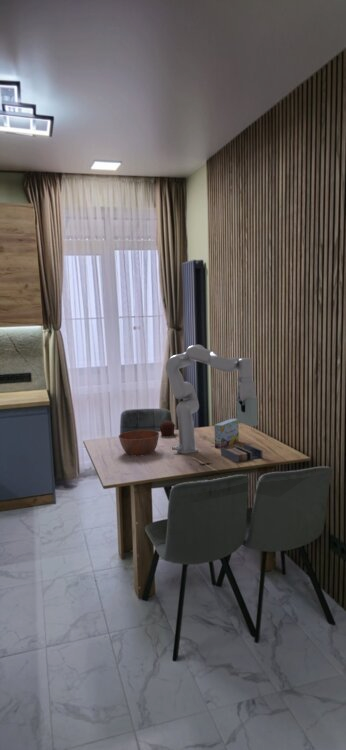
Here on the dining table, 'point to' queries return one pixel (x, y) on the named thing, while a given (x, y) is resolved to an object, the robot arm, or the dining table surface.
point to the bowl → (139, 442)
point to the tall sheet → (248, 412)
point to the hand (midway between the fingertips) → (246, 411)
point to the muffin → (167, 428)
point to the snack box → (226, 433)
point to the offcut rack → (250, 450)
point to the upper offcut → (238, 452)
